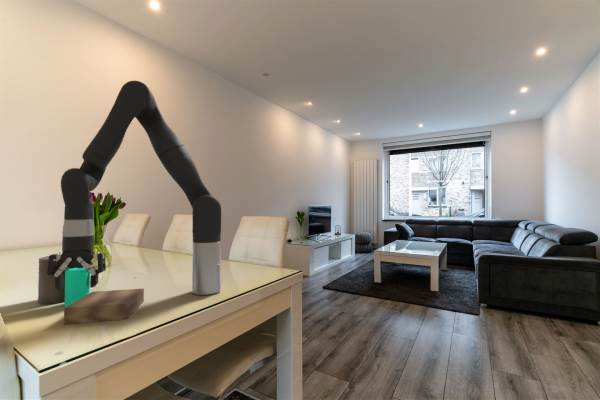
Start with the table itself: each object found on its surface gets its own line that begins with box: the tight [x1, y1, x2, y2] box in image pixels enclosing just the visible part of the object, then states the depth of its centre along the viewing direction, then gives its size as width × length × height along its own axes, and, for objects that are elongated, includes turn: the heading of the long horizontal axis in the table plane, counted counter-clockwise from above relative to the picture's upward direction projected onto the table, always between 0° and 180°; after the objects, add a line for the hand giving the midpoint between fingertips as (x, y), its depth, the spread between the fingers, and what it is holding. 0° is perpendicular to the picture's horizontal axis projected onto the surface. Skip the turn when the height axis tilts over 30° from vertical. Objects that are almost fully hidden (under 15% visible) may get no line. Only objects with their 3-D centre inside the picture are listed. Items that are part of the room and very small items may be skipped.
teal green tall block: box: [64, 267, 91, 308], centre depth 84 cm, size 6×6×12 cm
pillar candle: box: [37, 252, 72, 305], centre depth 88 cm, size 10×10×15 cm
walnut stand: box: [63, 288, 145, 325], centre depth 77 cm, size 14×14×4 cm
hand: (76, 287), depth 84 cm, fingers open, 8 cm apart
